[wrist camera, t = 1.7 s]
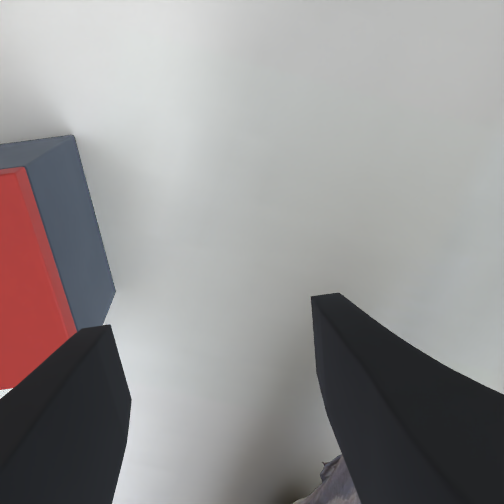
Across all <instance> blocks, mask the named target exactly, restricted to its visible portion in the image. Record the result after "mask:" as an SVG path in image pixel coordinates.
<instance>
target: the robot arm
mask: <svg viewBox="0 0 504 504" xmlns="http://www.w3.org/2000/svg"><path fill="white" fill-rule="evenodd" d="M311 305H312V318H313V331H314V345H315V358H316V372H317V377H318V381H319V385H320V389H321V393H322V397H323V401H324V405H325V409H326V412H327V416H328V418H329V421H330V424H331V426H332V429H333V432H334V434H335V437H336V439H337V442H338V445H339V447H340V450H341V452H342V455H343V458H344V460H345V463H346V465H347V468H348V471H349V473H350V476H351V478H352V481H353V484H354V486H355V489H356V491H357V494H358V496H359V499H360V502H361V504H504V395H503V394H501V393H499V392H497V391H495V390H492V389H490V388H488V387H486V386H484V385H482V384H480V383H478V382H476V381H474V380H472V379H470V378H468V377H466V376H464V375H462V374H460V373H458V372H456V371H454V370H452V369H451V368H449V367H447V366H445V365H443V364H442V363H440V362H438V361H436V360H435V359H433V358H431V357H430V356H428V355H427V354H425V353H423V352H422V351H420V350H418V349H417V348H415V347H413V346H412V345H410V344H409V343H407V342H406V341H404V340H403V339H401V338H400V337H398V336H397V335H395V334H394V333H392V332H391V331H389V330H388V329H387V328H385V327H384V326H382V325H381V324H380V323H378V322H377V321H376V320H374V319H373V318H371V317H370V316H369V315H368V314H366V313H365V312H364V311H362V310H361V309H360V308H358V307H357V306H356V305H354V304H353V303H352V302H351V301H349V300H348V299H347V298H345V297H344V296H343V295H341V294H340V293H333V294H326V295H318V296H311ZM131 400H132V399H131V396H130V392H129V389H128V385H127V382H126V378H125V375H124V371H123V367H122V364H121V360H120V357H119V353H118V350H117V346H116V343H115V339H114V335H113V332H112V328H111V325H103V326H95V327H88V328H82V329H81V330H79V331H78V332H77V333H75V334H74V335H73V336H72V337H70V338H69V339H68V340H67V341H66V342H65V343H64V344H62V345H61V346H60V347H59V348H58V349H57V350H56V351H55V352H53V353H52V354H51V355H50V356H49V357H48V358H47V359H46V360H45V361H44V362H42V363H41V364H40V365H39V366H38V367H37V368H36V369H35V370H33V371H32V372H31V373H30V374H29V375H28V376H27V377H26V378H24V379H23V380H22V381H21V382H20V383H19V384H18V385H17V386H15V387H14V388H13V389H12V390H11V391H9V392H8V393H7V394H6V395H5V396H3V397H2V398H1V399H0V504H112V501H113V497H114V493H115V489H116V485H117V481H118V477H119V473H120V469H121V465H122V461H123V457H124V452H125V448H126V444H127V437H128V429H129V420H130V410H131Z"/></svg>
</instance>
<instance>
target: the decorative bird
mask: <svg viewBox="0 0 504 504" xmlns="http://www.w3.org/2000/svg"><path fill="white" fill-rule="evenodd" d="M322 463H323V464H324V468H323V470H322V472H321V473H320V476H321V479H322V482H323V483H322V484H320V485H319V486H318V487H317V488H316V489H315V490H314V491H313V492H312V493H311V494H310V495H309V496H308V497H305V498H302V499H298V500H297V501H296V502H294V503H292V504H361V502H360V499H359V496H358V494H357V491H356V489H355V486H354V484H353V481H352V478H351V476H350V473H349V471H348V468H347V465H346V463H345V460H344V458H343V455H339V456H337V457H336V458H335V459H334V460H333V461H331V462H328V463H324V462H322Z"/></svg>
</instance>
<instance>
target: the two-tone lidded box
mask: <svg viewBox="0 0 504 504" xmlns="http://www.w3.org/2000/svg"><path fill="white" fill-rule="evenodd" d="M115 292H116V291H115V287H114V283H113V280H112V276H111V272H110V268H109V265H108V261H107V257H106V253H105V250H104V246H103V242H102V238H101V235H100V231H99V227H98V223H97V220H96V216H95V212H94V208H93V205H92V201H91V197H90V193H89V190H88V186H87V182H86V179H85V175H84V171H83V167H82V164H81V160H80V156H79V152H78V149H77V145H76V141H75V137H74V136H73V135H67V136H60V137H52V138H44V139H37V140H29V141H21V142H14V143H6V144H0V390H2V389H9V388H14V387H15V386H17V385H18V384H19V383H20V382H21V381H22V380H23V379H24V378H26V377H27V376H28V375H29V374H30V373H31V372H32V371H33V370H35V369H36V368H37V367H38V366H39V365H40V364H41V363H42V362H44V361H45V360H46V359H47V358H48V357H49V356H50V355H51V354H52V353H53V352H55V351H56V350H57V349H58V348H59V347H60V346H61V345H62V344H64V343H65V342H66V341H67V340H68V339H69V338H70V337H72V336H73V335H74V334H75V333H77V332H78V331H79V330H81V329H82V328H88V327H95V326H102V325H103V323H104V320H105V318H106V315H107V313H108V310H109V308H110V305H111V303H112V300H113V298H114V295H115Z"/></svg>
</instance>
